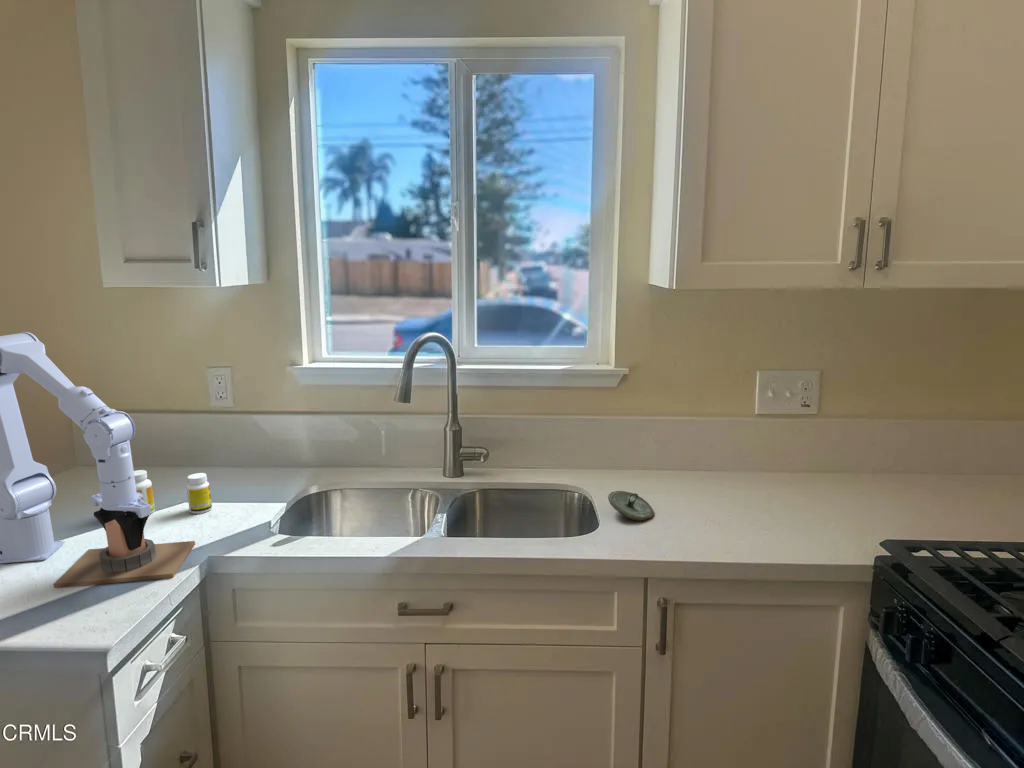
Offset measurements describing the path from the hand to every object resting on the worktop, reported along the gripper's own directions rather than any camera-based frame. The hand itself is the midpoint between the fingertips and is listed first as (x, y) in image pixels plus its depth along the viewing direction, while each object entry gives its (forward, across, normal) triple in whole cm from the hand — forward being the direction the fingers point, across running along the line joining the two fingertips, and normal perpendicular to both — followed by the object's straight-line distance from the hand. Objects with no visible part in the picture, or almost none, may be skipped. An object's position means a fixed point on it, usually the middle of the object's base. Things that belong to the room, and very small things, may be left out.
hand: (126, 545), depth 128 cm
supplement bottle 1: (+4, +22, -18) cm, 28 cm away
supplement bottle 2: (+4, +10, -25) cm, 27 cm away
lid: (+4, -80, -64) cm, 102 cm away
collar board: (+4, 0, 0) cm, 4 cm away
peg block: (+2, 0, 0) cm, 2 cm away
